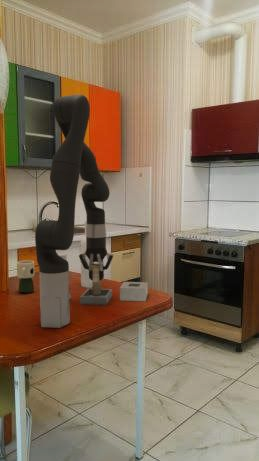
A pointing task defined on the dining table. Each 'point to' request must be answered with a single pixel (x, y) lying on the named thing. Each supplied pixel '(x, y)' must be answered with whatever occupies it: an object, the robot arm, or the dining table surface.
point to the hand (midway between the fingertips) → (96, 279)
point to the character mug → (25, 275)
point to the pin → (96, 280)
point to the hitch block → (134, 291)
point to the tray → (96, 297)
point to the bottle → (85, 272)
